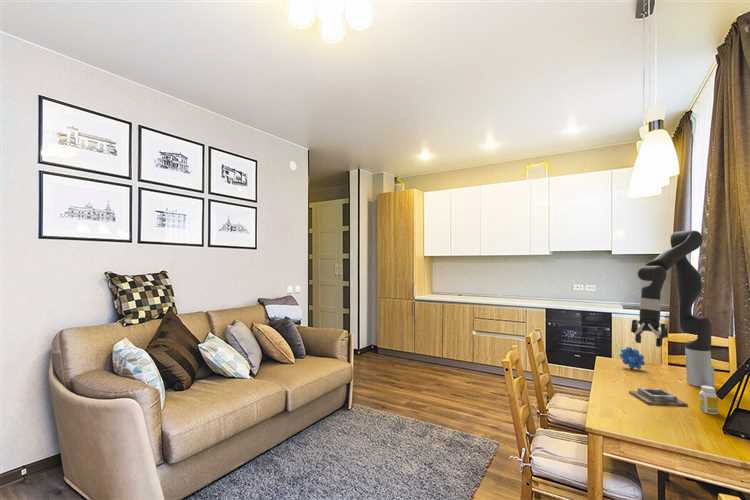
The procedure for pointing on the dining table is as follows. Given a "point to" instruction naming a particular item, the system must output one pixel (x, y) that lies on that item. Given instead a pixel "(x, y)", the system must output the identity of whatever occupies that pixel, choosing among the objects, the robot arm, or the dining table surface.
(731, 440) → the dining table surface
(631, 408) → the dining table surface
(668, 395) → the socket holder
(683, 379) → the dining table surface
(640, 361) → the grapes
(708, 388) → the supplement bottle
